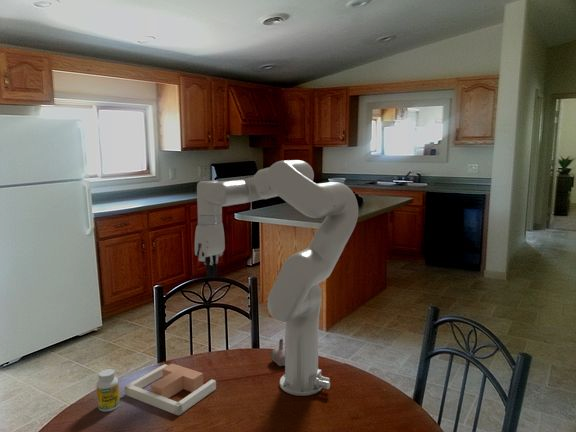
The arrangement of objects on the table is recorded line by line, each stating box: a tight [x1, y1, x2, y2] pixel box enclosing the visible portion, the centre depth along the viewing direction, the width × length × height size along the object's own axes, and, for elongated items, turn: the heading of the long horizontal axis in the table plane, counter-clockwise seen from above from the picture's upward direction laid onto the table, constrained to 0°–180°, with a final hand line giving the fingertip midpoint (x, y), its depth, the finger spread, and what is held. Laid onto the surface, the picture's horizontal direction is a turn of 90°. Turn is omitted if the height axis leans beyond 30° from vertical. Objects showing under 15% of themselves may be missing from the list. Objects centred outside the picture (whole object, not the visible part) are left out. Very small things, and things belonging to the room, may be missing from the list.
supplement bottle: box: [95, 368, 121, 412], centre depth 117 cm, size 5×5×10 cm
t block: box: [150, 363, 204, 399], centre depth 125 cm, size 12×12×4 cm
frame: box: [124, 363, 217, 417], centre depth 124 cm, size 20×15×2 cm
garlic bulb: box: [270, 338, 285, 367], centre depth 141 cm, size 8×7×8 cm
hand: (211, 276), depth 143 cm, fingers closed
